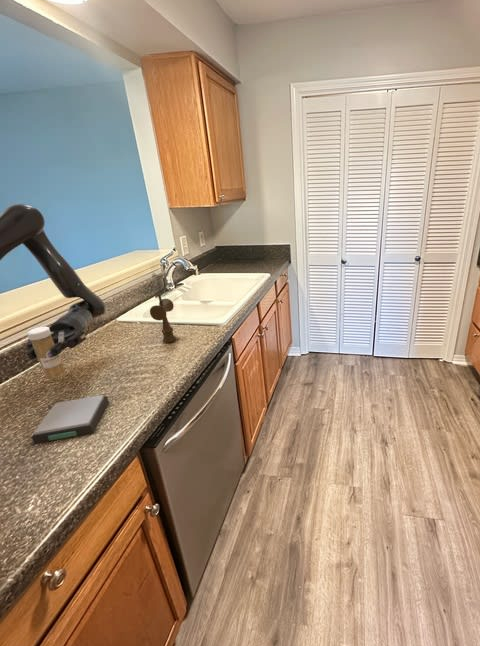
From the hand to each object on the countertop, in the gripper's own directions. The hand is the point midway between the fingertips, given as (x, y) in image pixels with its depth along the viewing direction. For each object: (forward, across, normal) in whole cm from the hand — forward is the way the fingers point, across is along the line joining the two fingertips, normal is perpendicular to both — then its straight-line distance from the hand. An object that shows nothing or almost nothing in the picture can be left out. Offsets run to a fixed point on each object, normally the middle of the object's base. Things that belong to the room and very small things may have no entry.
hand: (42, 354), depth 81 cm
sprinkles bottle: (-2, 0, +8) cm, 8 cm away
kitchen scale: (+4, +4, +18) cm, 19 cm away
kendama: (-39, +23, +19) cm, 49 cm away
